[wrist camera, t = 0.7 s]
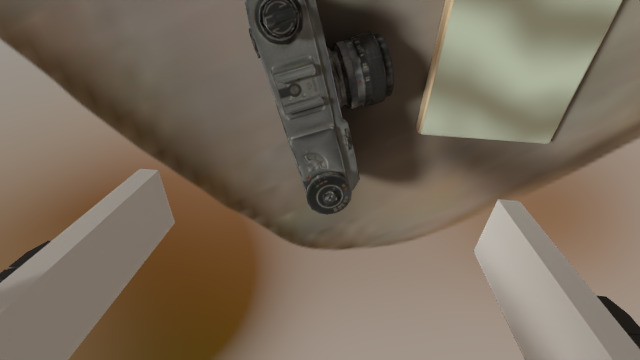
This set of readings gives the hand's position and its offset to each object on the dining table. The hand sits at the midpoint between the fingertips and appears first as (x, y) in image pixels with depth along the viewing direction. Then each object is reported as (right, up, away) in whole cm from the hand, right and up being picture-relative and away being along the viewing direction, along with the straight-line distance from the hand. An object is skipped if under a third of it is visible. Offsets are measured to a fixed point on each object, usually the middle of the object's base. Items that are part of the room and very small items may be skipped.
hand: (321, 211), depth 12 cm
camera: (+1, +11, +16) cm, 19 cm away
